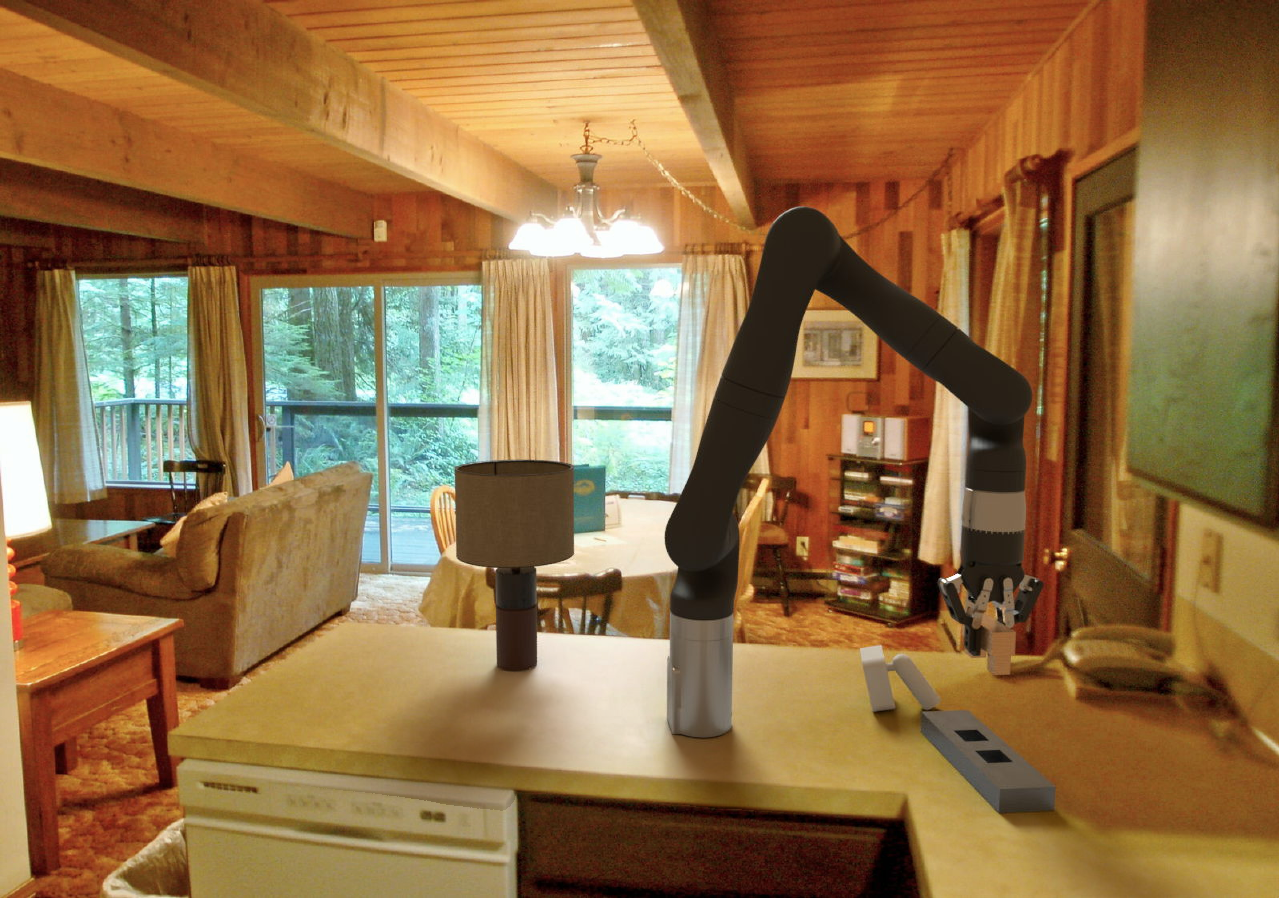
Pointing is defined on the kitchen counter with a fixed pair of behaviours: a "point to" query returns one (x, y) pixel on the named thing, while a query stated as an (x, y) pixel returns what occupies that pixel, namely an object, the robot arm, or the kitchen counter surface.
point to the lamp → (515, 539)
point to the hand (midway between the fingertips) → (987, 652)
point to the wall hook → (881, 685)
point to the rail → (988, 762)
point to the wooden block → (995, 645)
